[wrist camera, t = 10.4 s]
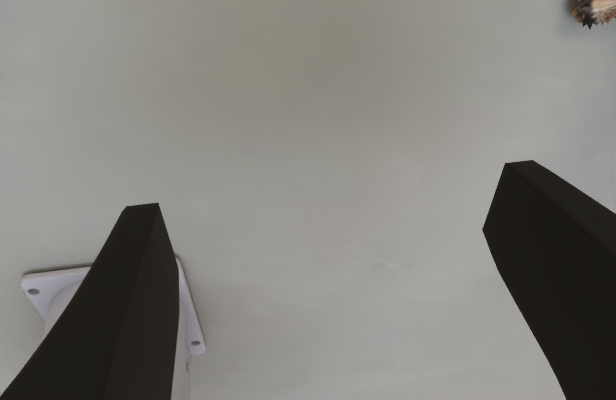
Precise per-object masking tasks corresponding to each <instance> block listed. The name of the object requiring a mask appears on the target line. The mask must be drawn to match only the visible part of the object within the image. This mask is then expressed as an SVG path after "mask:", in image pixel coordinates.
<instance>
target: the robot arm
mask: <svg viewBox="0 0 616 400" xmlns="http://www.w3.org/2000/svg"><path fill="white" fill-rule="evenodd" d="M482 230H483V233H484V235H485V238H486V241H487V244H488V246H489V249H490V252H491V254H492V257H493V259H494V262H495V264H496V266H497V269H498V271H499V273H500V275H501V277H502V279H503V281H504V282H505V284H506V286H507V288H508V290H509V292H510V293H511V295H512V297H513V299H514V301H515V302H516V304H517V306H518V308H519V310H520V311H521V313H522V315H523V317H524V318H525V320H526V322H527V324H528V326H529V327H530V329H531V331H532V333H533V335H534V336H535V338H536V340H537V342H538V343H539V345H540V347H541V349H542V351H543V352H544V354H545V356H546V358H547V359H548V361H549V363H550V365H551V367H552V369H553V371H554V373H555V375H556V377H557V379H558V381H559V384H560V386H561V388H562V391H563V393H564V395H565V398H566V400H616V214H615V213H613V212H612V211H610V210H609V209H607V208H606V207H604V206H603V205H601V204H600V203H598V202H597V201H595V200H594V199H592V198H591V197H589V196H588V195H586V194H585V193H583V192H582V191H580V190H579V189H577V188H576V187H574V186H573V185H571V184H570V183H568V182H567V181H565V180H563V179H562V178H560V177H559V176H557V175H556V174H554V173H553V172H551V171H550V170H548V169H546V168H545V167H543V166H541V165H540V164H538V163H536V162H535V161H533V160H529V161H520V162H512V163H505V165H504V168H503V171H502V174H501V177H500V180H499V183H498V186H497V189H496V191H495V194H494V197H493V200H492V203H491V206H490V209H489V212H488V215H487V218H486V221H485V224H484V227H483V229H482ZM19 286H20V288H21V289H22V290H23V292H24V293H25V295H26V296H27V298H28V299H29V300H30V302H31V303H32V305H33V306H34V308H35V309H36V311H37V312H38V313H39V315H40V316H41V318H42V319H43V321H44V322H45V327H44V331H43V334H42V338H41V342H40V345H39V347H38V348H37V350H36V351H35V352H34V354H33V355H32V356H31V358H30V359H29V360H28V362H27V363H26V364H25V366H24V367H23V368H22V370H21V371H20V372H19V374H18V375H17V376H16V377H15V379H14V380H13V381H12V382H11V384H10V385H9V386H8V387H7V389H6V390H5V391H4V392H3V394H2V395H1V396H0V400H189V397H190V356H196V355H201V354H203V353H205V352H206V344H205V341H204V337H203V334H202V331H201V328H200V324H199V321H198V318H197V314H196V311H195V308H194V304H193V301H192V298H191V294H190V291H189V288H188V285H187V281H186V278H185V275H184V271H183V268H182V265H181V262H180V260H179V259H178V258H176V257H175V255H174V252H173V248H172V245H171V242H170V239H169V236H168V232H167V229H166V226H165V223H164V220H163V216H162V213H161V210H160V207H159V203H152V204H143V205H134V206H127V207H126V208H125V209H124V210H123V211H122V213H121V215H120V216H119V218H118V220H117V222H116V224H115V226H114V228H113V230H112V231H111V233H110V235H109V237H108V239H107V240H106V242H105V244H104V246H103V248H102V249H101V251H100V253H99V254H98V256H97V258H96V260H95V261H94V263H93V265H92V266H90V267H82V268H74V269H66V270H58V271H50V272H42V273H34V274H27V275H24V276H22V277H21V280H20V282H19Z"/></svg>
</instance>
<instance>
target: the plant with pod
mask: <svg viewBox="0 0 616 400" xmlns="http://www.w3.org/2000/svg"><path fill="white" fill-rule="evenodd" d="M576 1H577V2H578V3H579V5H578V6H577V7H576V9H575V10H574V11H573V12H572V14H573V15H574V17H575V18H576V19H577V21H578V22H579V23H581V22H583V26H585V25H586V24H587V25H588V27H589V30H590V28H591V26H592V23H594V24H596V25H597V24H598V23H599V22H601V23H602V25H603V24H604V21H606V22H607V23H608V22H609V21H610V20H611V19H612V18H613V17H614V18H616V0H576Z"/></svg>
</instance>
